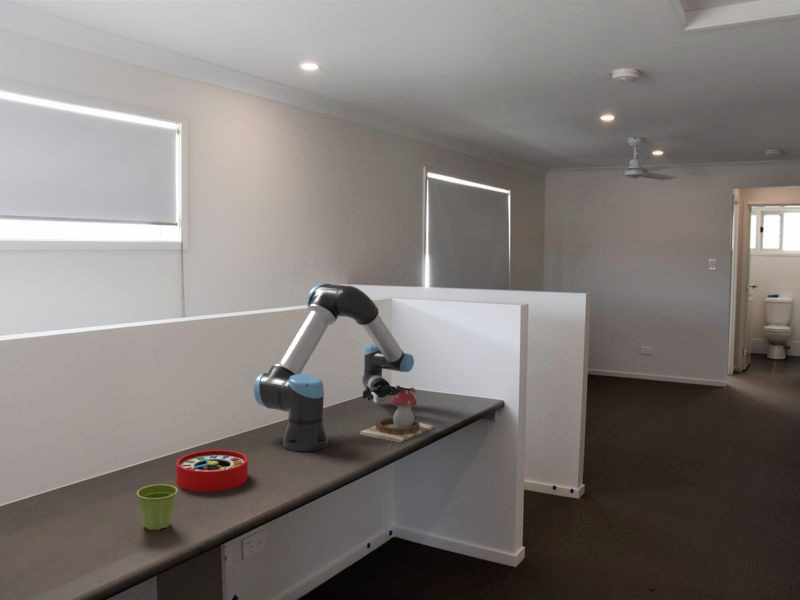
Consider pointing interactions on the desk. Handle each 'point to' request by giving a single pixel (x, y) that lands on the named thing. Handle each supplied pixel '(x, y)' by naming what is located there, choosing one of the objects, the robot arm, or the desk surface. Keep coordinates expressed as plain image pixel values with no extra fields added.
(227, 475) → the toy clock
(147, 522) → the plant pot
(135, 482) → the desk surface
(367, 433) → the collar board
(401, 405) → the decorative ornament
